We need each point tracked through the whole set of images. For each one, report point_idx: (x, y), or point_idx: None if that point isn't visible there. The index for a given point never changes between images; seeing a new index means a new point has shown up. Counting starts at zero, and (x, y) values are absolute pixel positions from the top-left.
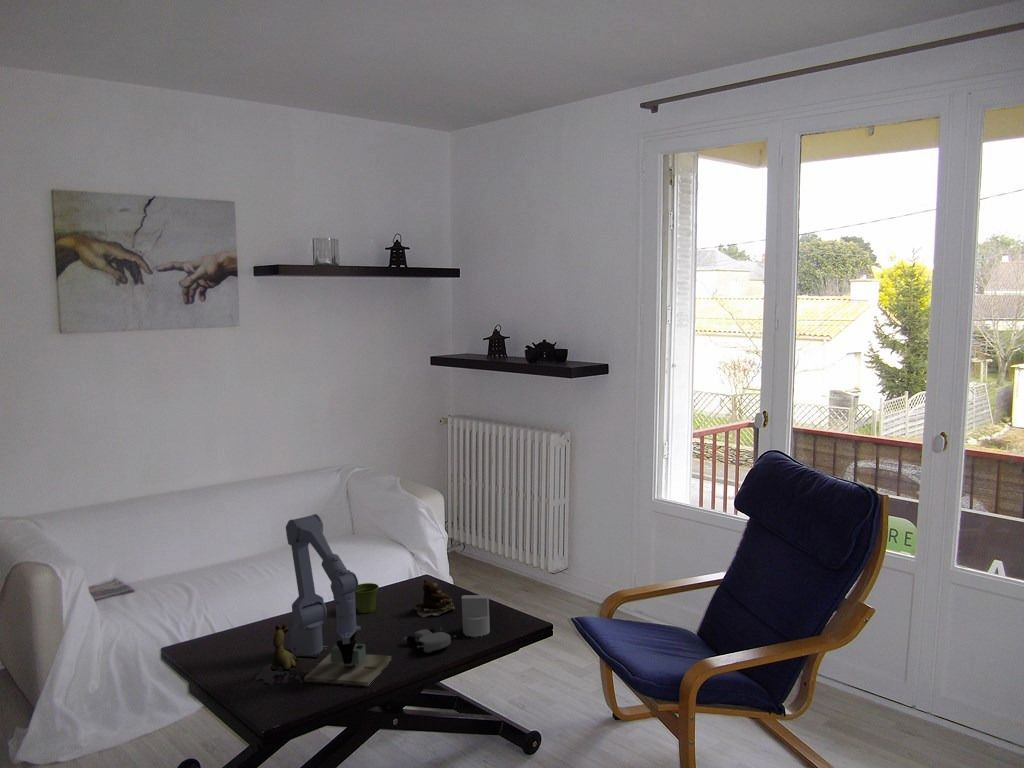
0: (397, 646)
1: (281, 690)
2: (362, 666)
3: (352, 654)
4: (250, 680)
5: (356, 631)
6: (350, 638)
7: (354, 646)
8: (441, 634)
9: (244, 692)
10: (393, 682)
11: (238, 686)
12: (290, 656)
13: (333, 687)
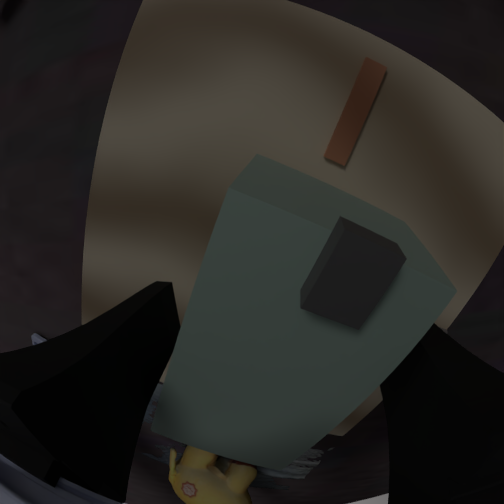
0: (12, 22)
1: (370, 453)
2: (310, 175)
3: (444, 332)
4: (267, 489)
5: (31, 390)
6: (108, 383)
7: (278, 336)
8: None
9: (336, 491)
10: (500, 10)
11: (295, 497)
12: (209, 486)
13: (452, 325)
